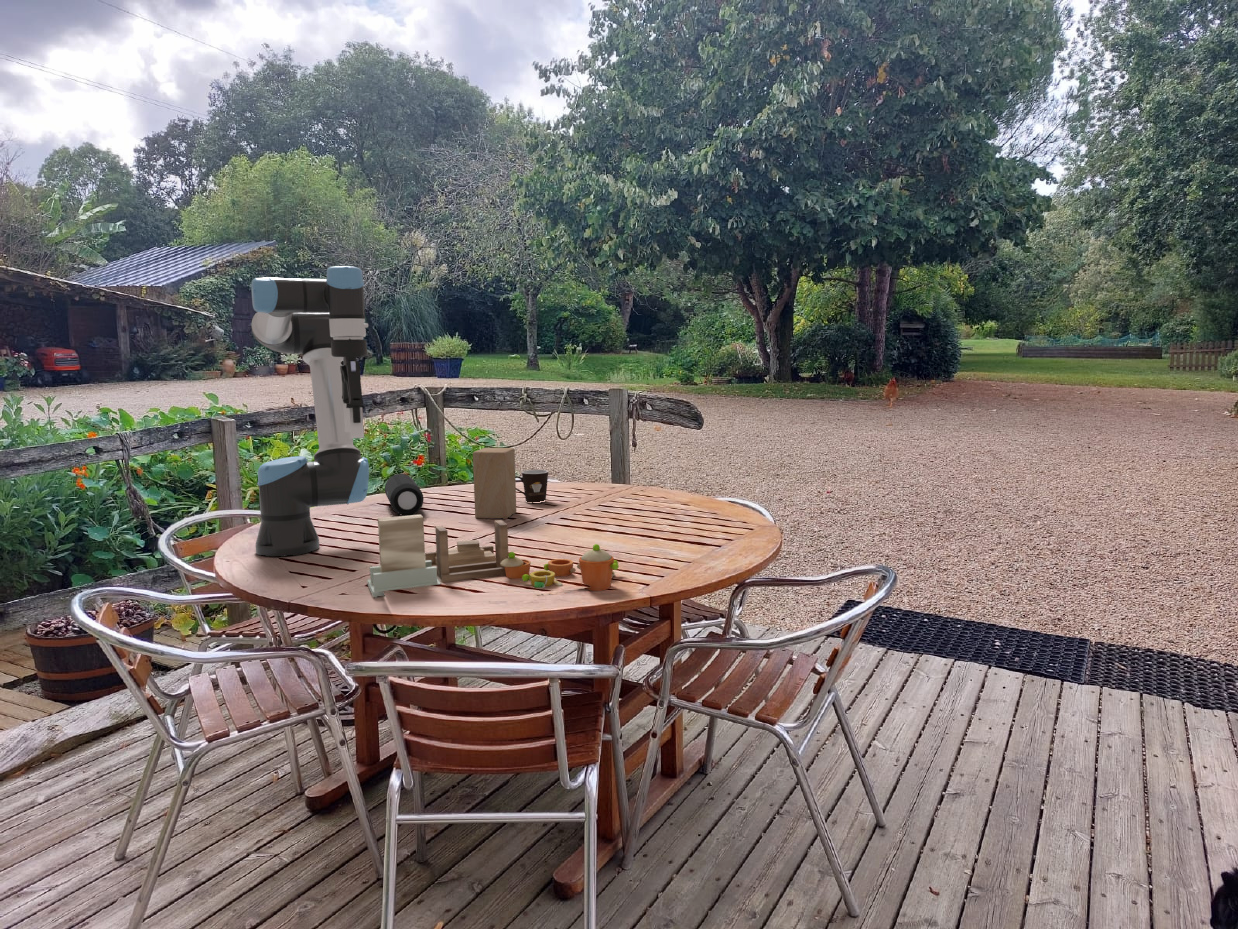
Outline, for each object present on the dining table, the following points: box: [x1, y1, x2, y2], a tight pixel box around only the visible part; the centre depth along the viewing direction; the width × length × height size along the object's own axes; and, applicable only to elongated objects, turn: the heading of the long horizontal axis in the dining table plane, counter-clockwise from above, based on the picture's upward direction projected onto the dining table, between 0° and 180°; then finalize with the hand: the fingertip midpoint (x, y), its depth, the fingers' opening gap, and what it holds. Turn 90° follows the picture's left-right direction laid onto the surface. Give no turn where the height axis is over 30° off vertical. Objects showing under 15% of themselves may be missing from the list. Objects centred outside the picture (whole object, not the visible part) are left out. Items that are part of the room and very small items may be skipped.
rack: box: [425, 519, 509, 583], centre depth 189 cm, size 17×16×12 cm
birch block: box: [377, 514, 426, 572], centre depth 178 cm, size 3×9×14 cm, turn 113°
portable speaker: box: [384, 473, 424, 516], centre depth 262 cm, size 26×10×10 cm, turn 20°
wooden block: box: [472, 447, 517, 520], centre depth 250 cm, size 10×10×20 cm
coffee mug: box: [515, 469, 549, 502], centre depth 272 cm, size 12×9×10 cm
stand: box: [366, 560, 442, 598], centre depth 179 cm, size 10×14×4 cm
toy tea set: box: [500, 543, 619, 592], centre depth 180 cm, size 26×16×10 cm, turn 98°
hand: (354, 434), depth 187 cm, fingers open, 13 cm apart
